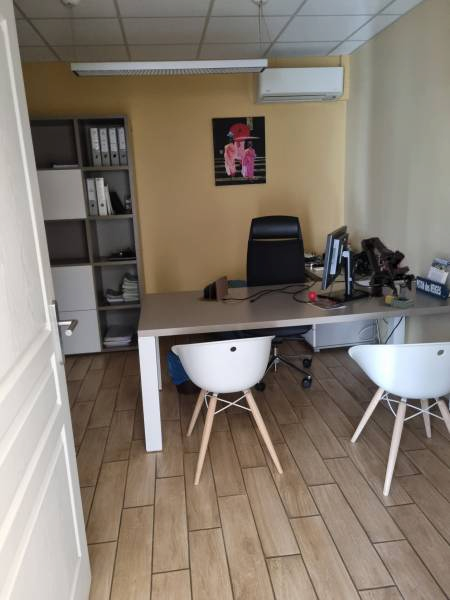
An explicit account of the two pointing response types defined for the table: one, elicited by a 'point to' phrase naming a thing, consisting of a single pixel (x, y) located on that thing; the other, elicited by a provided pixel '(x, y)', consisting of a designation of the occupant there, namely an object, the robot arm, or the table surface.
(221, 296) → the letter holder
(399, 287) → the trolley castor
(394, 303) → the parts tray
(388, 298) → the chock
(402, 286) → the stop pin
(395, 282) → the mechanical component
